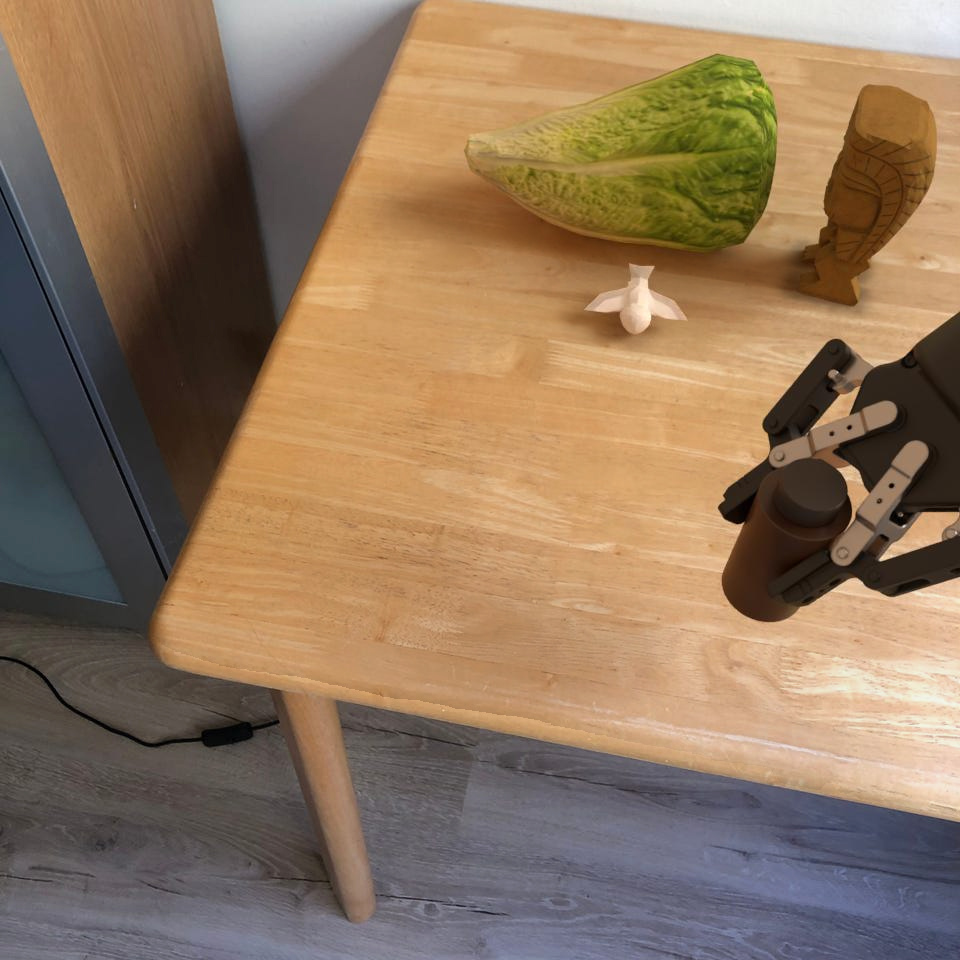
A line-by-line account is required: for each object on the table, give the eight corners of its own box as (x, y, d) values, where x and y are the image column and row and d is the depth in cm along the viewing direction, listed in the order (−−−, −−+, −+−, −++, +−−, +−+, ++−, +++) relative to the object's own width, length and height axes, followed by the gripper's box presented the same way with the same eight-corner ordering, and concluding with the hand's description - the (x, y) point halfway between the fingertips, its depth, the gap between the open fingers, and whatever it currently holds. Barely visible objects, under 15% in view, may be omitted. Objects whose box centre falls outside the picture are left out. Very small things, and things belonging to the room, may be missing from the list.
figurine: (800, 242, 81) (862, 78, 69) (879, 259, 80) (956, 96, 68) (789, 297, 77) (853, 134, 65) (872, 316, 76) (953, 154, 64)
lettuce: (463, 282, 79) (474, 181, 89) (766, 280, 77) (743, 177, 87) (451, 115, 68) (465, 21, 78) (804, 109, 66) (772, 13, 76)
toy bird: (580, 335, 73) (588, 276, 71) (581, 311, 77) (589, 254, 75) (686, 346, 73) (698, 288, 70) (682, 321, 77) (693, 265, 74)
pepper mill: (819, 588, 55) (881, 485, 47) (771, 638, 53) (827, 540, 45) (753, 538, 57) (802, 431, 49) (704, 585, 55) (747, 481, 47)
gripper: (934, 212, 45) (655, 436, 52) (1152, 442, 37) (787, 668, 44) (980, 275, 50) (721, 470, 58) (1178, 488, 42) (849, 683, 50)
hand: (751, 555), depth 51 cm, fingers closed on pepper mill, 4 cm apart
